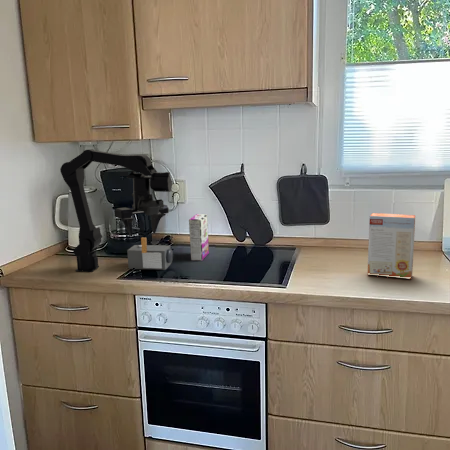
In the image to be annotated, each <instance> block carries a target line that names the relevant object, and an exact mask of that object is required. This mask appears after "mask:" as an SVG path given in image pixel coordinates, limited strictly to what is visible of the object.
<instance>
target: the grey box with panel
mask: <svg viewBox="0 0 450 450" xmlns="http://www.w3.org/2000/svg"><path fill="white" fill-rule="evenodd" d="M126 251H127V264H128V265H127V267H128V268H129V270H163V271H165V270H167V269H168V268H169V267H170V266H171V265H172V263H173V259H174V253H173V249H171V245H163V244H162V245H159V244H158V245H157V244H155V245H150V244H147V252H162V269H159V268H143V258H142V247H141V244H134V245H132V246H131V247H130V248H128V249H126ZM133 268H135V269H133Z"/></svg>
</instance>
